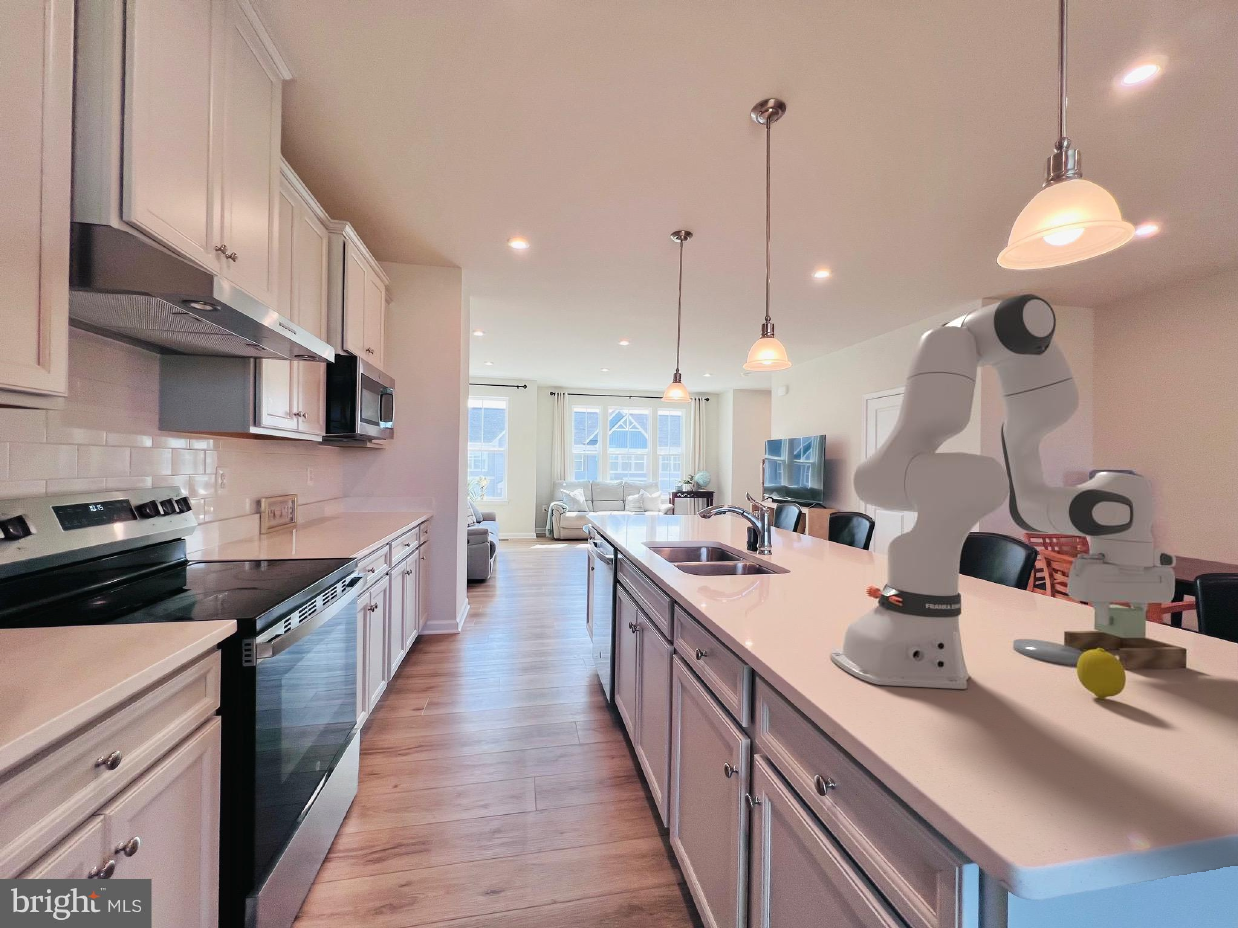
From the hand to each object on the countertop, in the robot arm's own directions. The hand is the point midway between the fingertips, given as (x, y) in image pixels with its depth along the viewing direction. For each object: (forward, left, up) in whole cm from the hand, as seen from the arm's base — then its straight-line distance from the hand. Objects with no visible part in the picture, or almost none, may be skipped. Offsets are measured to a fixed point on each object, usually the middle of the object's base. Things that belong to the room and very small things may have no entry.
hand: (1119, 624), depth 95 cm
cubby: (0, 0, -7) cm, 7 cm away
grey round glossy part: (-13, +3, -7) cm, 15 cm away
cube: (0, 0, -2) cm, 2 cm away
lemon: (-24, -15, -7) cm, 29 cm away
